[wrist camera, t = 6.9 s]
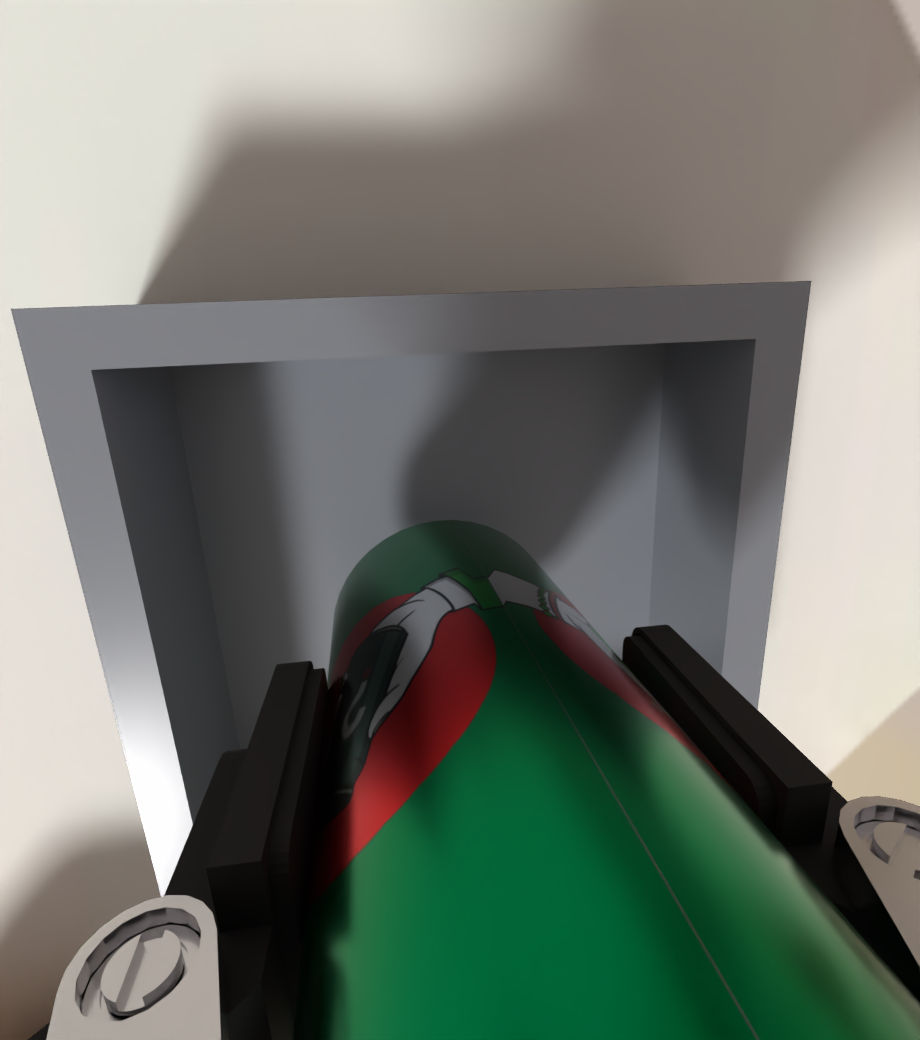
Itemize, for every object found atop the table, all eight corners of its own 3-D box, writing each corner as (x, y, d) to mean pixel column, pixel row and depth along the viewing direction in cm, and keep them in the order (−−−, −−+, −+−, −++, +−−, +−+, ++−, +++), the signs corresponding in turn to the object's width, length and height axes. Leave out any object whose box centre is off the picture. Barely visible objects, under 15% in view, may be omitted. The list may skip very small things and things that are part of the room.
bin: (128, 321, 14) (10, 308, 9) (689, 300, 15) (811, 280, 11) (224, 803, 18) (174, 949, 13) (658, 747, 19) (738, 861, 15)
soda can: (332, 710, 14) (209, 2288, 3) (336, 509, 13) (124, 1907, 1) (531, 704, 15) (1100, 1842, 3) (554, 515, 14) (1595, 1353, 2)
